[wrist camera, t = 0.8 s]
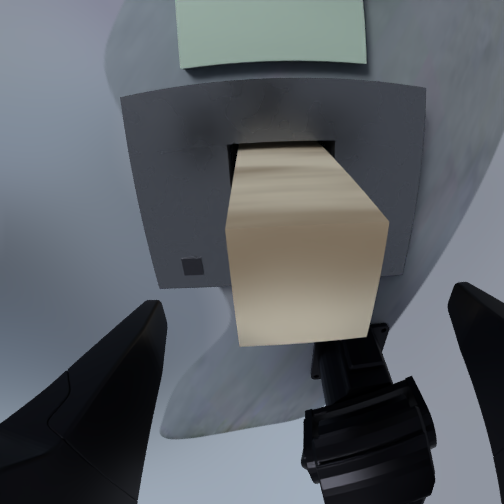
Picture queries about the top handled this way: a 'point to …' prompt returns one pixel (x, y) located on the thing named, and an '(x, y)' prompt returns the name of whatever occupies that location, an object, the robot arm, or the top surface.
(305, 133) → the plate
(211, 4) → the pad
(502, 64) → the top surface
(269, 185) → the peg
